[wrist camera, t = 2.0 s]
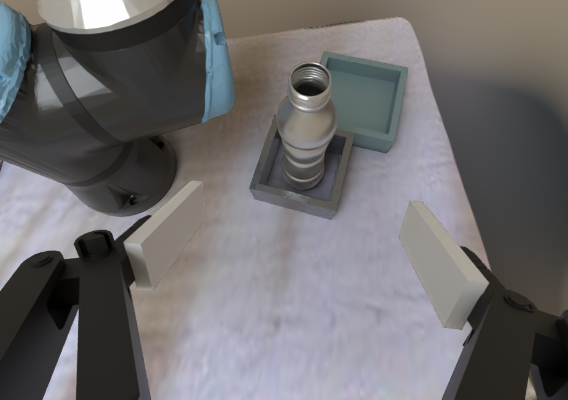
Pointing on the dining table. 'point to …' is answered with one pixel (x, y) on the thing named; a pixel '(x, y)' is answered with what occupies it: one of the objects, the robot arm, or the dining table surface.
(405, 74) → the tray
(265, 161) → the holder sleeve
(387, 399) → the dining table surface
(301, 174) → the metal bottle
